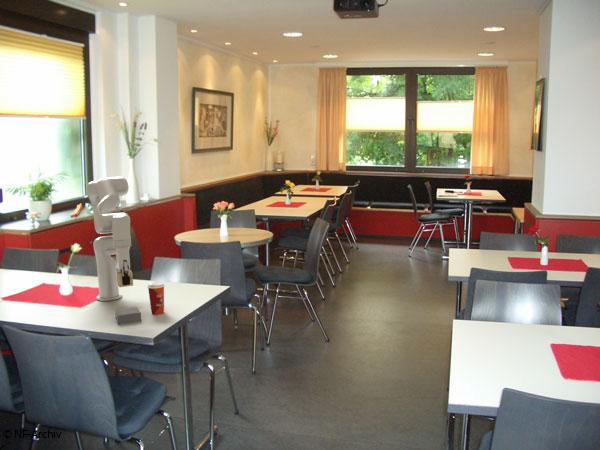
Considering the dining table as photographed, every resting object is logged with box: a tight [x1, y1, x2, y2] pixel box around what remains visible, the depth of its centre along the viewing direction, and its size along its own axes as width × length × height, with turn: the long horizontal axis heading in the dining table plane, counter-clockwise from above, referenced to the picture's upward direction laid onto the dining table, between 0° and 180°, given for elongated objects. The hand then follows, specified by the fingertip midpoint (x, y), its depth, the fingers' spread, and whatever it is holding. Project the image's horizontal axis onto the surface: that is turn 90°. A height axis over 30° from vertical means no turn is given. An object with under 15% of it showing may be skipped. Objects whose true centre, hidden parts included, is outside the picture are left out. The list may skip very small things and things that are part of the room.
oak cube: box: [117, 269, 134, 288], centre depth 281 cm, size 6×6×6 cm
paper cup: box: [147, 281, 165, 316], centre depth 291 cm, size 8×8×14 cm
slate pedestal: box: [114, 306, 142, 325], centre depth 283 cm, size 10×10×4 cm
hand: (125, 283), depth 281 cm, fingers closed on oak cube, 6 cm apart
